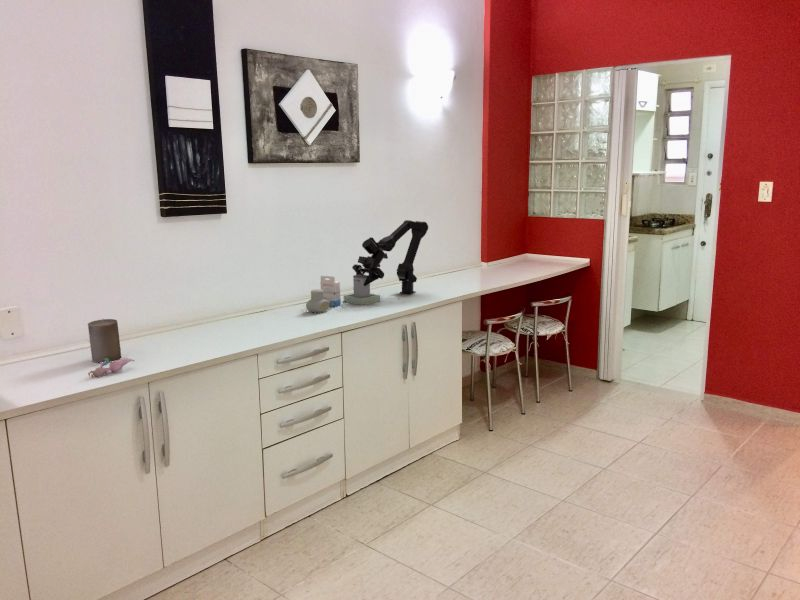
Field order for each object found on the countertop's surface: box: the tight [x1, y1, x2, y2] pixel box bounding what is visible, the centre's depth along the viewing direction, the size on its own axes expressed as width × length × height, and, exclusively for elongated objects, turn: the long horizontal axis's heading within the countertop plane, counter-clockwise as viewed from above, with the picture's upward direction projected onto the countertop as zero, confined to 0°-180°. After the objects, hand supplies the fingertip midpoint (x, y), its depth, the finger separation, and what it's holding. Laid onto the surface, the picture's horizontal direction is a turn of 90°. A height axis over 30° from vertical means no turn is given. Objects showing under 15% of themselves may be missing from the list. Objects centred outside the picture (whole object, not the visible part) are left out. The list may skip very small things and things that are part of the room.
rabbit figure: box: [87, 357, 136, 379], centre depth 221 cm, size 6×6×15 cm
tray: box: [342, 292, 381, 306], centre depth 333 cm, size 13×13×3 cm
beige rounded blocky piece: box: [305, 289, 330, 314], centre depth 310 cm, size 11×8×10 cm
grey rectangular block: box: [352, 274, 371, 298], centre depth 331 cm, size 6×7×11 cm
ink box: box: [319, 275, 342, 307], centre depth 323 cm, size 8×5×15 cm, turn 62°
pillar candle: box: [87, 318, 122, 363], centre depth 235 cm, size 10×10×15 cm
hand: (359, 284), depth 330 cm, fingers closed on grey rectangular block, 7 cm apart
